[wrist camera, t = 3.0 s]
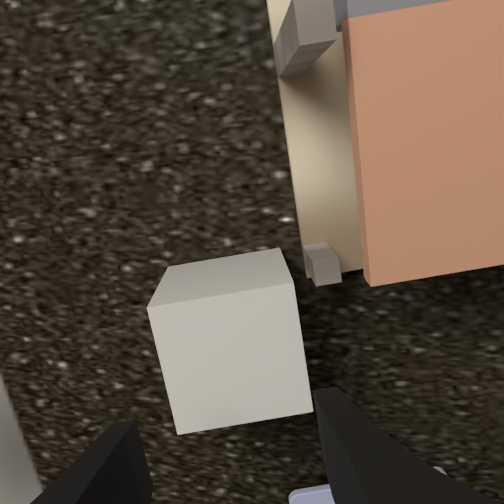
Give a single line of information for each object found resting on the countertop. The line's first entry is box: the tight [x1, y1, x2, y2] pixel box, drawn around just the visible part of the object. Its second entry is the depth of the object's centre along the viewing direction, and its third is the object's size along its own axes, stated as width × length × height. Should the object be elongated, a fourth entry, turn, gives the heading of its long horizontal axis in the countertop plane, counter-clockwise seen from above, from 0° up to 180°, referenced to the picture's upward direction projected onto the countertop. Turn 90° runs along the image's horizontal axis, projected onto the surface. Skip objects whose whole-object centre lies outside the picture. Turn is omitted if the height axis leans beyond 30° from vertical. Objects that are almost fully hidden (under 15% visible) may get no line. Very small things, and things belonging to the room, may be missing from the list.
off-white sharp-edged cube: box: [147, 248, 313, 435], centre depth 18 cm, size 5×5×5 cm
